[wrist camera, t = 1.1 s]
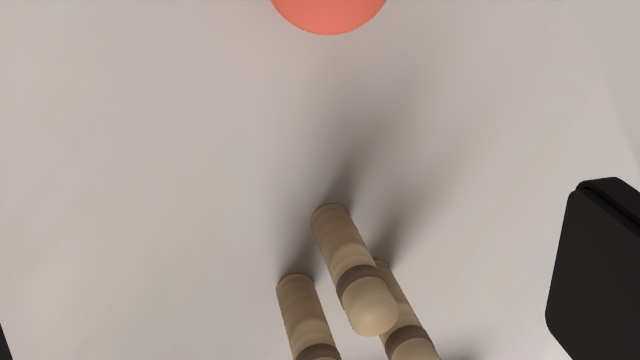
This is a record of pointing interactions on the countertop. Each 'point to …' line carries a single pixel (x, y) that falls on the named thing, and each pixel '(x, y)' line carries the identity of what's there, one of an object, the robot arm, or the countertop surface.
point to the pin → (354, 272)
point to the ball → (328, 14)
